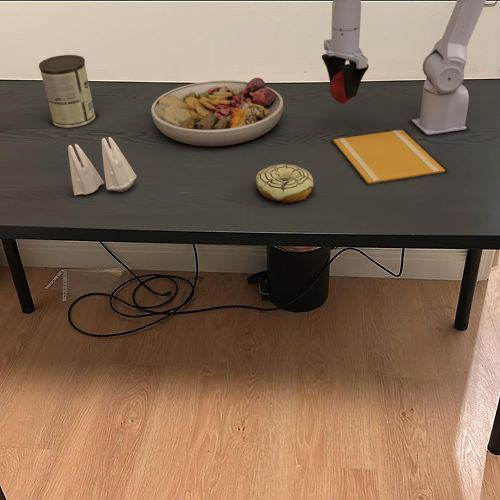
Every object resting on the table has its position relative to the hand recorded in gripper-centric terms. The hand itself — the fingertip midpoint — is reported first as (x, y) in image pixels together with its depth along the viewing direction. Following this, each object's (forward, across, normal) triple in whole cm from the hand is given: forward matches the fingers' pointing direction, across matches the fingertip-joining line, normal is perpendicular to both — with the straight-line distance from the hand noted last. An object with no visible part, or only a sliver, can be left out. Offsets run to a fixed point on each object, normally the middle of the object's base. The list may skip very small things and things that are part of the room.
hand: (343, 91), depth 135 cm
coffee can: (+9, -36, -53) cm, 65 cm away
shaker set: (+9, +2, -54) cm, 54 cm away
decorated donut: (+9, +18, -23) cm, 31 cm away
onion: (+3, 0, 0) cm, 3 cm away
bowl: (+9, -17, -23) cm, 30 cm away
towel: (+9, +15, +2) cm, 17 cm away
